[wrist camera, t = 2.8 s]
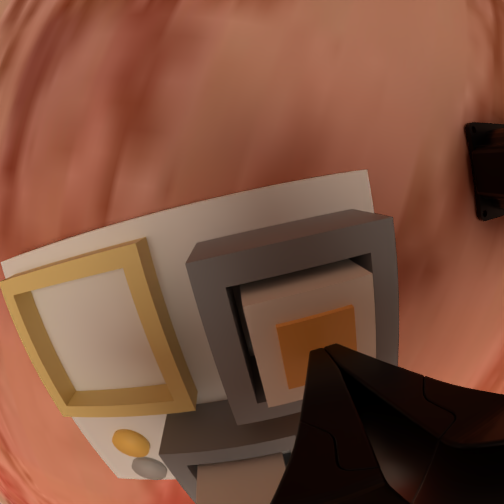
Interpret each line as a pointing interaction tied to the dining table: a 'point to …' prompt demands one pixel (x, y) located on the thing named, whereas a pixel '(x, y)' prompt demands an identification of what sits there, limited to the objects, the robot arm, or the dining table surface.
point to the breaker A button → (307, 321)
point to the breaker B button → (240, 480)
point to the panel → (188, 319)
